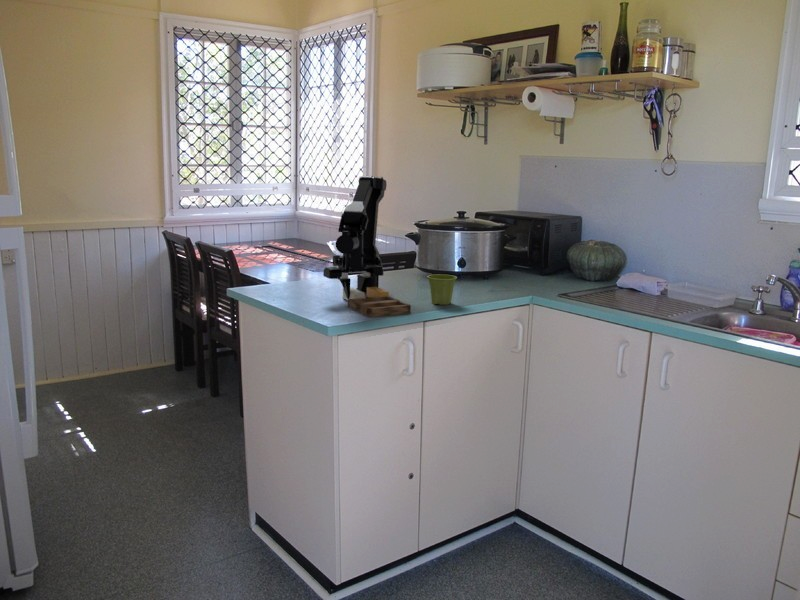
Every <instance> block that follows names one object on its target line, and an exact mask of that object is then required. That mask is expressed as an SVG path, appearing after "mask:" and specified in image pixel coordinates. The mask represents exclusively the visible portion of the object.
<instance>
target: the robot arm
mask: <svg viewBox="0 0 800 600" xmlns="http://www.w3.org/2000/svg"><path fill="white" fill-rule="evenodd" d="M385 191H387V180H386V179H384V177H383V176H373V175H362V176H359V178H358V185H357V188H356V191H355V194H354V196H353V199H352V202H351V203H349V204H348V205H346V207H345V208H344V210H343V212H342V213H341V215H340V221H339V225H338V233H341V235H339V236H338V237H337V239H336V240H335V247H336V249H337V251H338V252H339V253H341V254H342V257H341V255H333V256H332V266H330V267H329V266H328V267H324V269H323V274H322V275H323V277H325V278H327V279H330V280H333V279H334V280H335V279H336V280H339V281H340V283H341V285H342V287H343V288H344V291H345V294H346V297H347V299H349V297H350V288H351V278H349V276H351V275H356V278H357V281H356V286H357V287H356V289H357V290H359V291H362V292H364V293H367V287H378V288H379V280H380V279H379V277H382V276H384V268H383V263H382V260H381V257H380V252H379V249H378V247H377V246H376V243H377V240H376V239H377V231H378V230H377V227H378V218H379V204H380V202H381V201H382V200H383V198H384V197H385ZM343 288H342V289H343Z"/></svg>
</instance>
